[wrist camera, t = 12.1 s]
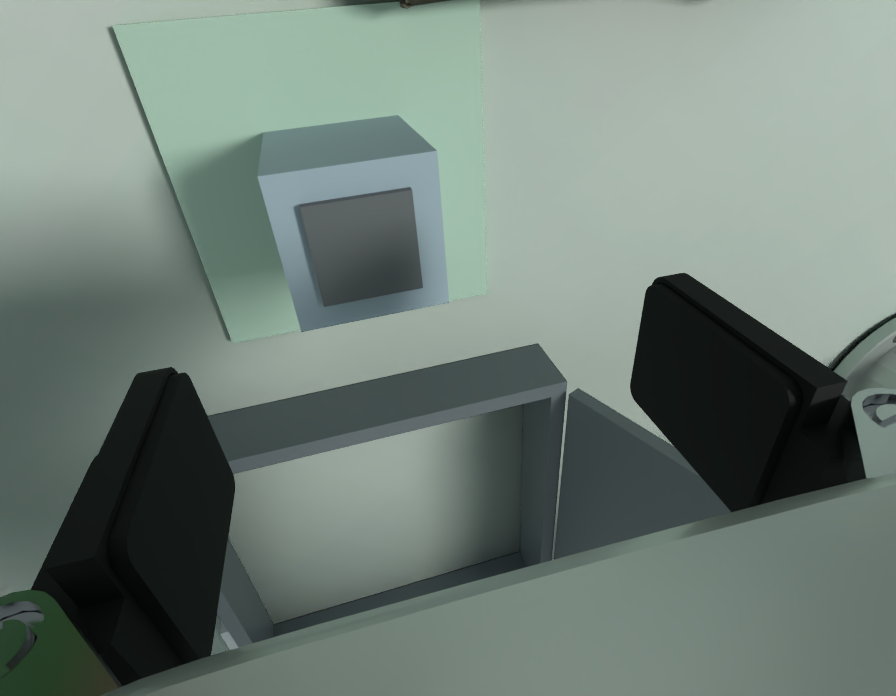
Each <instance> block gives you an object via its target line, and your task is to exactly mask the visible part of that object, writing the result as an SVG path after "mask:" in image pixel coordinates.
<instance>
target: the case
mask: <svg viewBox="0 0 896 696" xmlns="http://www.w3.org/2000/svg"><path fill="white" fill-rule="evenodd" d="M566 388H567V381H566V379H565V378H564V377H563V375H562V374H561V373H560V371H559V370H558V369H557V368H556V366H555V365H554V364H553V362H552V361H551V360H550V358H549V357H548V356H547V354H546V353H545V352H544V351H543V349H542V348H541V347H540V345H539V344H535V345H531V346H526V347H521V348H517V349H512V350H508V351H503V352H499V353H494V354H490V355H485V356H480V357H476V358H471V359H467V360H462V361H458V362H453V363H449V364H444V365H439V366H435V367H430V368H426V369H421V370H417V371H412V372H408V373H403V374H398V375H394V376H389V377H385V378H380V379H376V380H371V381H367V382H362V383H357V384H353V385H348V386H344V387H339V388H335V389H330V390H326V391H321V392H317V393H312V394H307V395H303V396H298V397H294V398H289V399H285V400H280V401H276V402H271V403H266V404H262V405H257V406H253V407H248V408H244V409H239V410H235V411H230V412H225V413H221V414H216V415H212V416H207V417H208V419H209V421H210V423H211V426H212V428H213V430H214V432H215V435H216V437H217V439H218V441H219V443H220V446H221V448H222V450H223V452H224V455H225V457H226V459H227V461H228V463H229V466H230V468H231V470H232V473H233V474H235V473H239V472H244V471H248V470H252V469H256V468H260V467H264V466H268V465H273V464H277V463H281V462H285V461H289V460H293V459H297V458H302V457H306V456H310V455H314V454H318V453H322V452H326V451H331V450H335V449H339V448H343V447H347V446H351V445H355V444H360V443H364V442H368V441H372V440H376V439H380V438H384V437H389V436H393V435H397V434H401V433H405V432H409V431H413V430H418V429H422V428H426V427H430V426H434V425H438V424H442V423H447V422H451V421H455V420H459V419H463V418H467V417H471V416H476V415H480V414H484V413H488V412H492V411H496V410H500V409H505V408H509V407H513V406H517V405H521V404H523V439H522V480H521V522H520V552H517V553H514V554H511V555H507V556H504V557H500V558H497V559H494V560H490V561H487V562H484V563H480V564H477V565H474V566H470V567H467V568H463V569H460V570H457V571H453V572H450V573H447V574H443V575H440V576H437V577H433V578H430V579H426V580H423V581H420V582H416V583H413V584H410V585H406V586H403V587H400V588H396V589H393V590H389V591H386V592H383V593H379V594H376V595H373V596H369V597H366V598H363V599H359V600H356V601H352V602H349V603H346V604H342V605H339V606H336V607H332V608H329V609H326V610H322V611H319V612H315V613H312V614H309V615H305V616H302V617H299V618H295V619H292V620H289V621H285V622H282V623H278V624H275V625H274V624H273V622H272V620H271V618H270V617H269V615H268V613H267V611H266V609H265V607H264V605H263V603H262V601H261V599H260V598H259V596H258V594H257V592H256V590H255V588H254V586H253V584H252V582H251V580H250V579H249V577H248V575H247V573H246V571H245V569H244V567H243V565H242V563H241V561H240V560H239V558H238V556H237V554H236V552H235V550H234V548H233V546H232V544H231V542H230V541H229V539H228V541H227V548H226V555H225V562H224V569H223V575H222V582H221V589H220V596H219V603H218V610H217V614H218V616H219V618H220V619H221V626H220V635H221V637H222V638H223V640H224V641H225V643H226V644H227V646H228V647H229V649H230V650H232V649H235V648H239V647H242V646H246V645H249V644H253V643H256V642H259V641H263V640H266V639H270V638H273V637H276V636H280V635H283V634H287V633H290V632H294V631H297V630H300V629H304V628H307V627H311V626H314V625H318V624H321V623H325V622H329V621H332V620H336V619H339V618H343V617H347V616H350V615H354V614H358V613H361V612H365V611H368V610H372V609H376V608H379V607H383V606H387V605H390V604H394V603H397V602H401V601H405V600H408V599H412V598H416V597H419V596H423V595H426V594H430V593H434V592H437V591H441V590H445V589H448V588H452V587H456V586H459V585H463V584H466V583H470V582H474V581H477V580H481V579H485V578H488V577H492V576H496V575H499V574H503V573H507V572H511V571H514V570H518V569H522V568H525V567H529V566H533V565H536V564H540V563H544V562H547V561H551V560H552V549H553V537H554V526H555V514H556V503H557V491H558V480H559V468H560V457H561V445H562V434H563V423H564V411H565V400H566Z"/></svg>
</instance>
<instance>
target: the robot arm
mask: <svg viewBox="0 0 896 696" xmlns="http://www.w3.org/2000/svg"><path fill="white" fill-rule="evenodd" d="M630 389H631V394H632V396H633V399H634V400H635V402H636V403H637V404H638V405H639V406H640V407H641V408H642V410H643V411H644V412H645V413H646V414H647V415H648V417H649V418H650V419H651V420H652V421H653V422H654V423H655V425H656V426H657V427H658V428H659V429H660V430H661V432H662V433H663V434H664V435H665V436H666V437H667V439H668V440H669V441H670V442H671V443H672V444H673V445H674V447H675V448H676V449H677V450H678V451H679V452H680V454H681V455H682V456H683V457H684V458H685V459H686V460H687V462H688V463H689V464H690V465H691V466H692V467H693V469H694V470H695V471H696V472H697V473H698V474H699V475H700V477H701V478H702V479H703V480H704V481H705V482H706V484H707V485H708V486H709V487H710V488H711V489H712V490H713V492H714V493H715V494H716V495H717V496H718V497H719V499H720V500H721V501H722V502H723V503H724V504H725V505H726V507H727V508H728V509H729V510H730V511H731V513H727V514H723V515H720V516H716V517H712V518H708V519H704V520H701V521H697V522H693V523H689V524H685V525H682V526H678V527H674V528H670V529H667V530H663V531H659V532H655V533H651V534H648V535H644V536H640V537H637V538H633V539H629V540H625V541H622V542H618V543H614V544H611V545H607V546H603V547H599V548H596V549H592V550H588V551H584V552H581V553H577V554H573V555H570V556H566V557H562V558H559V559H555V560H551V561H547V562H544V563H540V564H536V565H533V566H529V567H525V568H522V569H518V570H514V571H511V572H507V573H503V574H499V575H496V576H492V577H488V578H485V579H481V580H477V581H474V582H470V583H466V584H463V585H459V586H456V587H452V588H448V589H445V590H441V591H437V592H434V593H430V594H426V595H423V596H419V597H416V598H412V599H408V600H405V601H401V602H397V603H394V604H390V605H387V606H383V607H379V608H376V609H372V610H368V611H365V612H361V613H358V614H354V615H350V616H347V617H343V618H339V619H336V620H332V621H329V622H325V623H321V624H318V625H314V626H311V627H307V628H304V629H300V630H297V631H294V632H290V633H287V634H283V635H280V636H276V637H273V638H270V639H266V640H263V641H259V642H256V643H253V644H249V645H246V646H242V647H239V648H235V649H232V650H229V651H225V652H222V653H218V654H215V655H212V656H211V651H212V644H213V637H214V630H215V624H216V617H217V610H218V603H219V596H220V589H221V582H222V575H223V569H224V562H225V555H226V548H227V541H228V534H229V527H230V520H231V513H232V507H233V500H234V493H235V481H234V476H233V473H232V470H231V468H230V466H229V463H228V461H227V459H226V457H225V455H224V452H223V450H222V448H221V446H220V443H219V441H218V439H217V437H216V435H215V432H214V430H213V428H212V426H211V423H210V421H209V419H208V417H207V415H206V412H205V410H204V408H203V406H202V403H201V401H200V399H199V397H198V395H197V392H196V390H195V388H194V386H193V383H192V381H191V379H190V377H189V376H188V375H187V373H180V374H178V373H177V371H176V370H175V369H174V368H172V367H169V368H164V369H158V370H153V371H148V372H142V373H138V374H137V375H136V376H135V377H134V380H133V382H132V384H131V386H130V388H129V390H128V392H127V394H126V397H125V399H124V401H123V403H122V405H121V407H120V409H119V411H118V414H117V416H116V418H115V420H114V422H113V424H112V426H111V428H110V431H109V433H108V435H107V437H106V439H105V441H104V443H103V445H102V448H101V450H100V452H99V454H98V455H97V456H96V457H95V458H94V460H93V461H92V463H91V465H90V467H89V469H88V471H87V473H86V475H85V477H84V479H83V481H82V483H81V485H80V488H79V490H78V492H77V494H76V496H75V498H74V500H73V502H72V504H71V506H70V509H69V511H68V513H67V515H66V517H65V519H64V521H63V523H62V525H61V527H60V529H59V532H58V534H57V536H56V538H55V540H54V542H53V544H52V546H51V548H50V550H49V553H48V555H47V557H46V559H45V561H44V563H43V565H42V567H41V569H40V571H39V573H38V576H37V578H36V580H35V582H34V584H33V586H32V588H31V590H25V591H20V592H14V593H10V594H8V595H5V596H3V597H0V696H896V318H894V319H892V320H890V321H888V322H887V323H885V324H884V325H882V326H881V327H879V328H878V329H877V330H875V331H874V332H872V333H871V334H870V335H869V336H867V337H866V338H865V339H864V340H863V341H861V342H860V343H859V344H858V345H857V346H856V347H855V348H854V349H853V350H852V351H851V352H850V353H849V354H848V355H847V356H846V357H845V358H844V359H843V360H842V361H841V363H840V364H839V365H838V366H837V367H836V369H835V370H834V371H832V370H831V369H829V368H828V367H826V366H825V365H823V364H822V363H820V362H819V361H817V360H816V359H814V358H813V357H811V356H810V355H808V354H807V353H805V352H804V351H802V350H801V349H799V348H798V347H796V346H795V345H793V344H792V343H790V342H789V341H787V340H786V339H784V338H783V337H781V336H780V335H778V334H777V333H775V332H774V331H772V330H771V329H769V328H768V327H766V326H765V325H763V324H762V323H760V322H759V321H757V320H756V319H754V318H753V317H751V316H750V315H748V314H747V313H745V312H744V311H742V310H741V309H739V308H738V307H736V306H735V305H733V304H732V303H730V302H729V301H727V300H726V299H724V298H723V297H721V296H720V295H718V294H717V293H715V292H714V291H712V290H711V289H709V288H708V287H706V286H705V285H703V284H702V283H700V282H699V281H697V280H696V279H694V278H693V277H691V276H690V275H688V274H685V273H679V274H674V275H669V276H663V277H658V278H657V279H655V280H654V282H653V283H652V285H651V286H649V287H648V288H647V290H646V293H645V299H644V305H643V311H642V317H641V323H640V329H639V335H638V341H637V347H636V353H635V359H634V365H633V371H632V377H631V383H630Z"/></svg>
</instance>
